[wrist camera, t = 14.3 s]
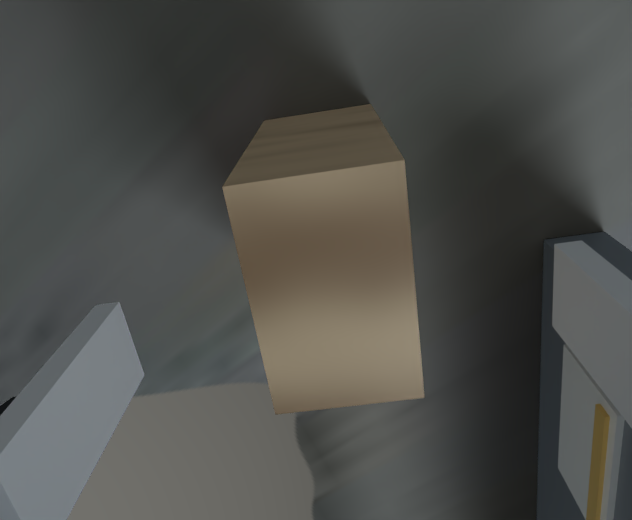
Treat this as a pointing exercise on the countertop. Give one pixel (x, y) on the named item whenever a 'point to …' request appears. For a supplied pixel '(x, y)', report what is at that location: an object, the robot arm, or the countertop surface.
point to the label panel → (579, 418)
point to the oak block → (328, 260)
